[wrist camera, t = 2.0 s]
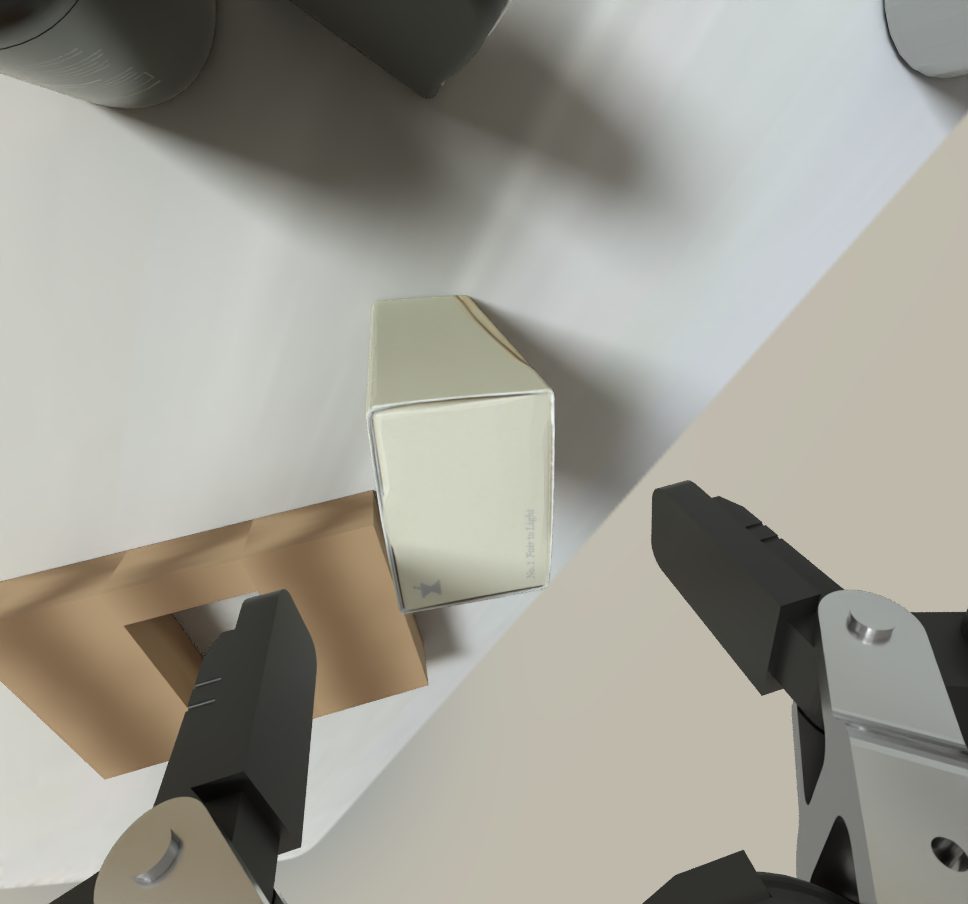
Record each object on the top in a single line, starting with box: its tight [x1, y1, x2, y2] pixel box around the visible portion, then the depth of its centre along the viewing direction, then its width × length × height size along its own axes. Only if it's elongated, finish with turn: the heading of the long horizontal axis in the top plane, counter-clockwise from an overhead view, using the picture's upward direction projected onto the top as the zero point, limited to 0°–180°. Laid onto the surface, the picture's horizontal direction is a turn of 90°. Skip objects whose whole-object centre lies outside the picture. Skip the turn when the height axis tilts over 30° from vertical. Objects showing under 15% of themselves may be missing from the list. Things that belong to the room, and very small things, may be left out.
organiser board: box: [0, 490, 428, 779], centre depth 26 cm, size 18×12×3 cm, turn 99°
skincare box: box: [366, 295, 555, 615], centre depth 17 cm, size 6×4×12 cm
